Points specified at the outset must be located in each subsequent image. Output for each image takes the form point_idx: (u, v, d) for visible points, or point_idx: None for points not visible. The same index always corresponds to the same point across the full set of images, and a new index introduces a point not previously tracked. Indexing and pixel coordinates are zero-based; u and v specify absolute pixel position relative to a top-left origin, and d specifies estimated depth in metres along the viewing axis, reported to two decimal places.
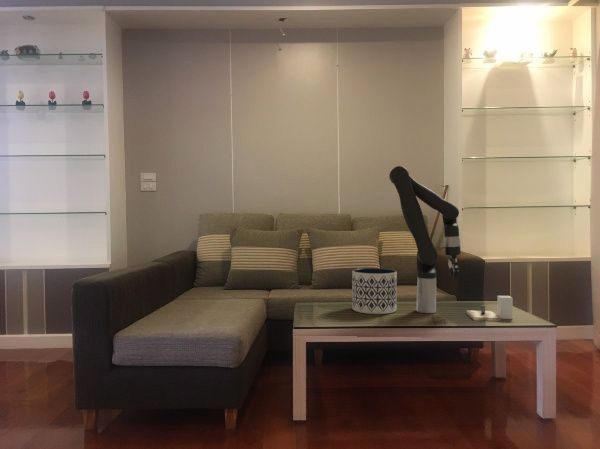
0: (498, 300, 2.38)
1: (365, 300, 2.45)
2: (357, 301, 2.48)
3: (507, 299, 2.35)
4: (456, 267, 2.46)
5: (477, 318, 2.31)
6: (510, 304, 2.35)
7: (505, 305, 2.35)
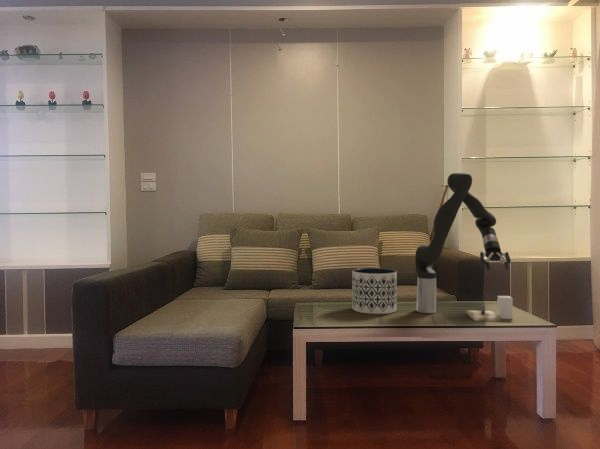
0: (498, 300, 2.38)
1: (365, 300, 2.45)
2: (357, 301, 2.48)
3: (507, 299, 2.35)
4: (502, 261, 2.53)
5: (477, 318, 2.31)
6: (510, 304, 2.35)
7: (505, 305, 2.35)
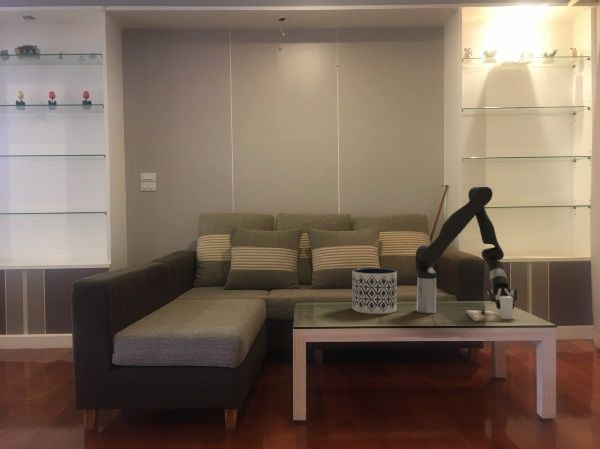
0: (498, 300, 2.38)
1: (365, 300, 2.45)
2: (357, 301, 2.48)
3: (507, 299, 2.35)
4: None
5: (477, 318, 2.31)
6: (510, 304, 2.35)
7: (505, 305, 2.35)
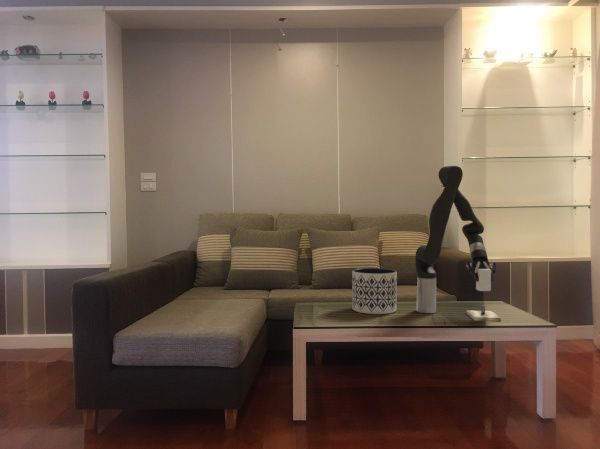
0: None
1: (365, 300, 2.45)
2: (357, 301, 2.48)
3: (485, 271, 2.35)
4: None
5: (477, 318, 2.31)
6: (488, 277, 2.35)
7: (483, 277, 2.35)
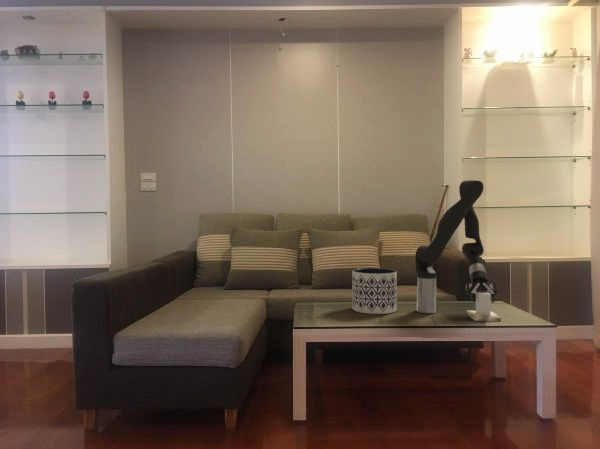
0: (476, 296, 2.40)
1: (365, 300, 2.45)
2: (357, 301, 2.48)
3: (485, 295, 2.36)
4: None
5: (477, 318, 2.31)
6: (488, 301, 2.36)
7: (483, 301, 2.36)
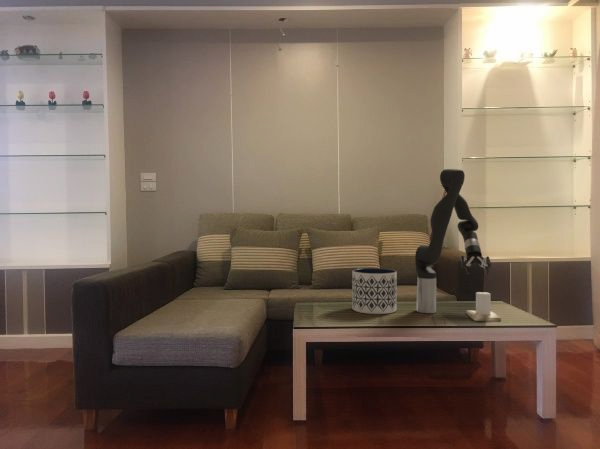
0: (476, 296, 2.40)
1: (365, 300, 2.45)
2: (357, 301, 2.48)
3: (485, 295, 2.36)
4: (482, 266, 2.52)
5: (477, 318, 2.31)
6: (488, 301, 2.36)
7: (483, 301, 2.36)
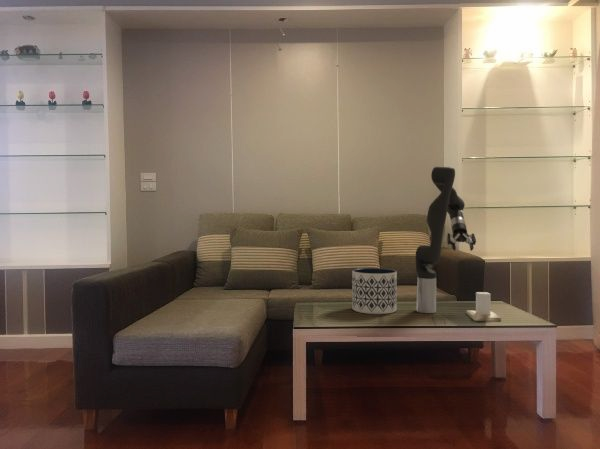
0: (476, 296, 2.40)
1: (365, 300, 2.45)
2: (357, 301, 2.48)
3: (485, 295, 2.36)
4: (468, 242, 2.63)
5: (477, 318, 2.31)
6: (488, 301, 2.36)
7: (483, 301, 2.36)
